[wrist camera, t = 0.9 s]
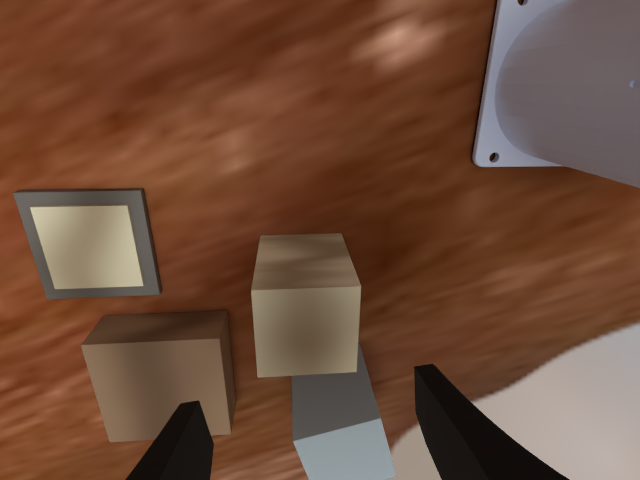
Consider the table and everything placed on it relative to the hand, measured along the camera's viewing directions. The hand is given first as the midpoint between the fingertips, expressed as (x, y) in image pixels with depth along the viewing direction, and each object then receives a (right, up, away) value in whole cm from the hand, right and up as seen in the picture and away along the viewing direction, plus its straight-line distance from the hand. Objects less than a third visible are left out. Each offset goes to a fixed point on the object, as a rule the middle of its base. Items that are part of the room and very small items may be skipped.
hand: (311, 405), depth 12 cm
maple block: (-1, +4, +9) cm, 10 cm away
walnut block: (-9, -2, +11) cm, 14 cm away
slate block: (+1, -4, +12) cm, 13 cm away
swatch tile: (-12, +5, +8) cm, 15 cm away
